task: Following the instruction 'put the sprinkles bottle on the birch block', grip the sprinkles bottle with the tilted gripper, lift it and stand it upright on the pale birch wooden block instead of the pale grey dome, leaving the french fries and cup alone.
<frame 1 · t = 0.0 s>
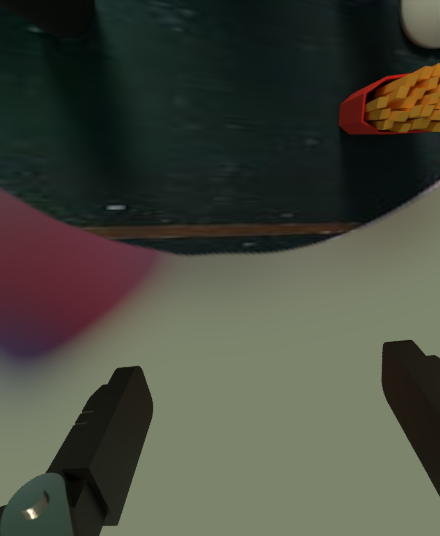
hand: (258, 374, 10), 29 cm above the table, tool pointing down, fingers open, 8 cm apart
black bottle: (62, 0, 31), on the table
french fries: (373, 112, 33), on the table
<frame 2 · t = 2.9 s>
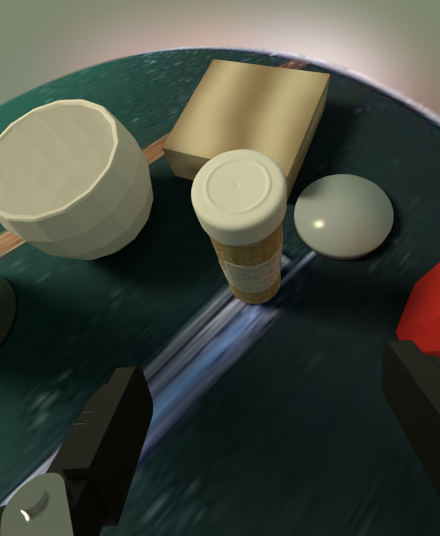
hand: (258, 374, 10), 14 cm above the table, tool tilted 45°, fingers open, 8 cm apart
pale grey dome: (340, 218, 27), on the table
cup: (112, 222, 32), on the table
french fries: (433, 316, 23), on the table
birch block: (249, 143, 32), on the table
sprinkles bottle: (255, 281, 27), on the table
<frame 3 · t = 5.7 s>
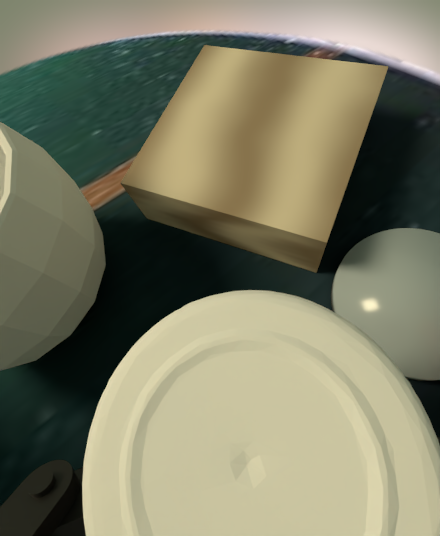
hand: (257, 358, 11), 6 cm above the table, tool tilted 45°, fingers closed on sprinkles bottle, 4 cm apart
pale grey dome: (408, 302, 17), on the table
cup: (52, 289, 21), on the table
birch block: (257, 170, 22), on the table
sprinkles bottle: (268, 408, 16), on the table, touching gripper
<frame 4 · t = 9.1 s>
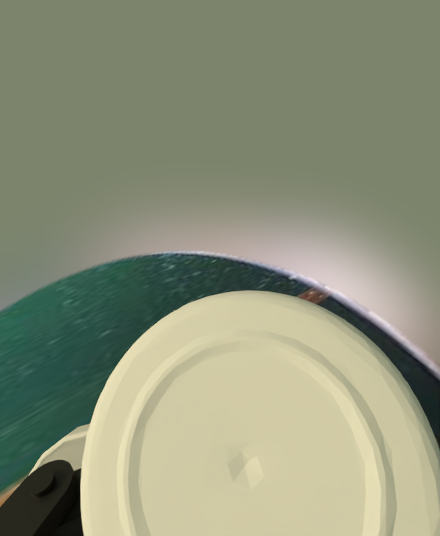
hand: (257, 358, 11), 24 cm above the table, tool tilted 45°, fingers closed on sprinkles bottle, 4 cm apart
cup: (136, 479, 32), on the table
sprinkles bottle: (269, 408, 16), point 18 cm above the table, touching gripper
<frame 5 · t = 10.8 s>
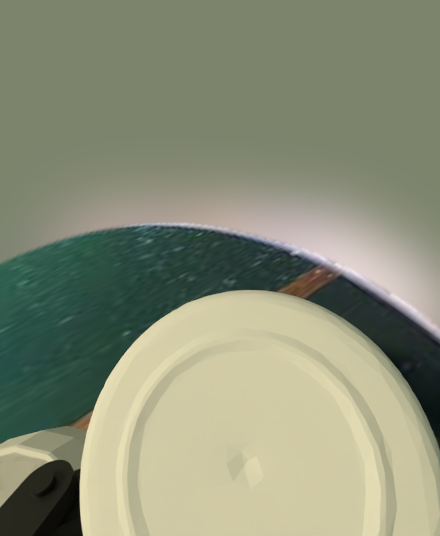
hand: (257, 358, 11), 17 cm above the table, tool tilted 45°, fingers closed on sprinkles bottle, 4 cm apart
cup: (95, 503, 25), on the table
sprinkles bottle: (269, 408, 16), point 10 cm above the table, touching gripper
when the fingers open (11 cm above the table, at t = 12.4 s): sprinkles bottle drops 1 cm, resting on birch block.
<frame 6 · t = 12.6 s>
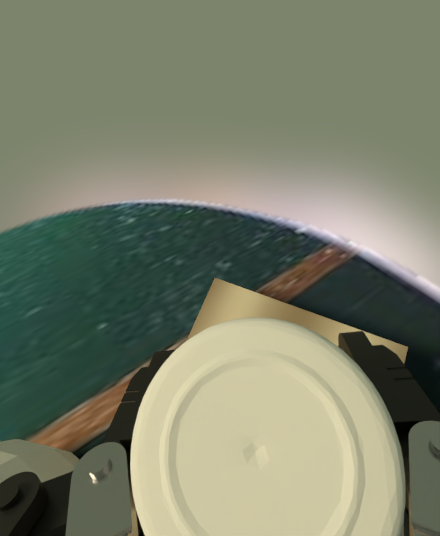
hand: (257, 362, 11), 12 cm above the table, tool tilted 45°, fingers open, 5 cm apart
cup: (58, 533, 20), on the table
birch block: (269, 404, 21), on the table
sprinkles bottle: (273, 410, 17), point 4 cm above the table, touching birch block
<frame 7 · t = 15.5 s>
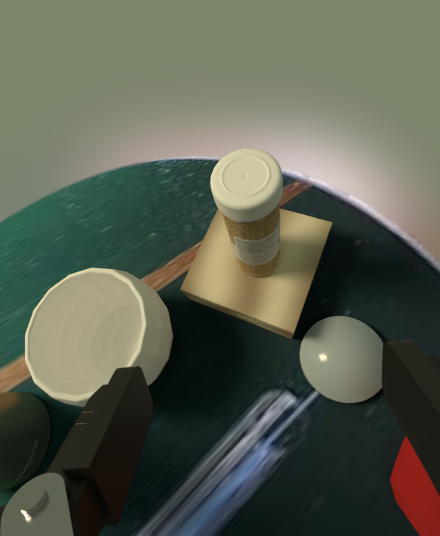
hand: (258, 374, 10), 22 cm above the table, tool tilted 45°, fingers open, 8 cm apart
pale grey dome: (341, 358, 30), on the table
cup: (134, 344, 35), on the table
french fries: (422, 465, 26), on the table
birch block: (258, 269, 35), on the table
sprinkles bottle: (258, 258, 32), point 4 cm above the table, touching birch block
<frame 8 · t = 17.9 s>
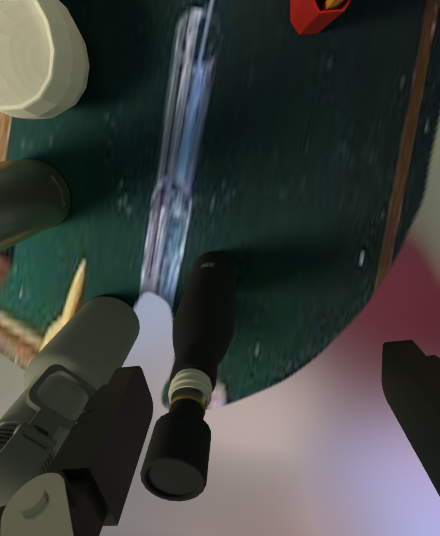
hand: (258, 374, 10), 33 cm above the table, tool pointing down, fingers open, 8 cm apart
water bottle: (112, 319, 50), on the table
black bottle: (214, 271, 45), on the table
cup: (54, 64, 36), on the table
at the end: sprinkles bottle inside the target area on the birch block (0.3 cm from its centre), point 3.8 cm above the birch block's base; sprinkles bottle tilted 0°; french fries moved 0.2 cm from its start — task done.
